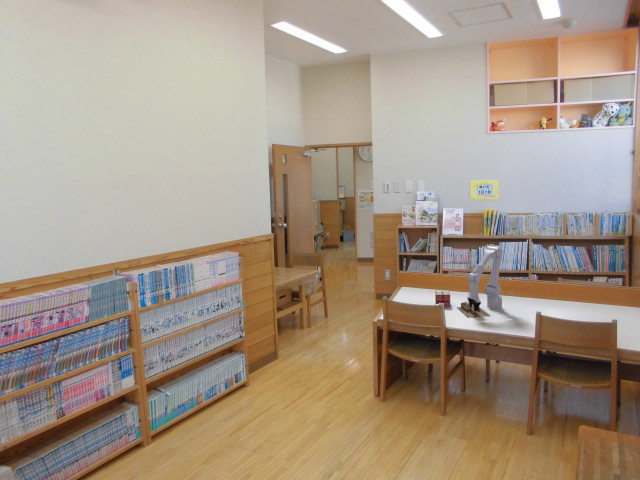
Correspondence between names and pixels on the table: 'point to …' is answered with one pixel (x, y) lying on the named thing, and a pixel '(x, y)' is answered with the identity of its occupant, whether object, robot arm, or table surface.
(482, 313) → the shelf lane
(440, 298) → the puzzle cube
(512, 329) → the table surface
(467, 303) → the sage block
